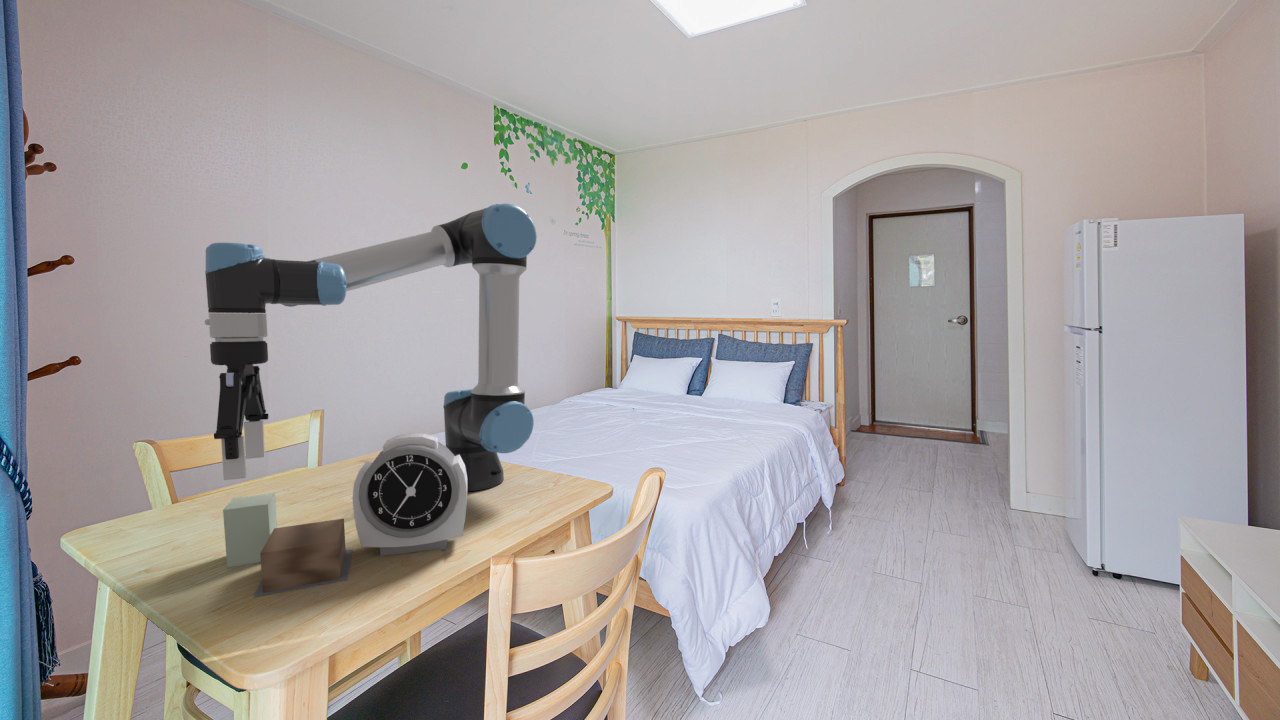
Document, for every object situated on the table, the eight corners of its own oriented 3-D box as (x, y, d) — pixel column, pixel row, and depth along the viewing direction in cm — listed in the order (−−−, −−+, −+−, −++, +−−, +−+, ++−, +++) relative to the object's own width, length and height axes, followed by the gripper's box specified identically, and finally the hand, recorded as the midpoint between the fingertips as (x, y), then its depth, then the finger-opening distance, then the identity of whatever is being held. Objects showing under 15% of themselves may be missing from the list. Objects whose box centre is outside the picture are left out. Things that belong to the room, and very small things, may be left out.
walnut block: (345, 552, 92) (343, 518, 91) (340, 578, 83) (338, 540, 82) (276, 563, 87) (274, 528, 87) (262, 592, 78) (260, 553, 78)
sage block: (278, 548, 94) (275, 493, 93) (271, 562, 89) (267, 504, 88) (237, 554, 92) (233, 498, 91) (227, 569, 86) (223, 509, 85)
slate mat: (352, 551, 93) (352, 548, 93) (347, 582, 82) (347, 579, 82) (270, 564, 88) (270, 562, 88) (253, 600, 77) (252, 597, 77)
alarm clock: (353, 565, 88) (347, 444, 86) (364, 543, 96) (359, 433, 94) (468, 551, 93) (464, 436, 91) (469, 532, 101) (466, 426, 99)
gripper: (231, 337, 97) (238, 452, 98) (182, 343, 74) (192, 492, 76) (281, 337, 100) (286, 448, 102) (248, 342, 77) (255, 486, 79)
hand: (246, 467), depth 89 cm, fingers open, 13 cm apart
